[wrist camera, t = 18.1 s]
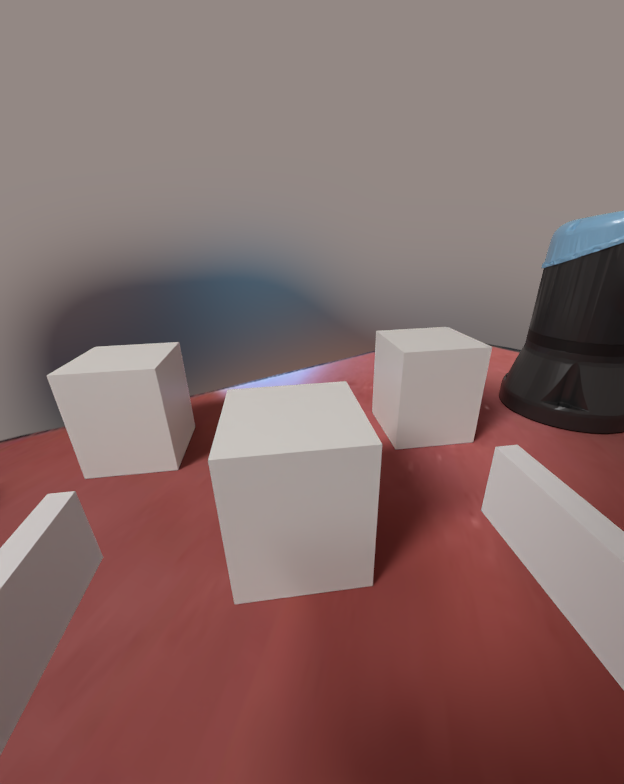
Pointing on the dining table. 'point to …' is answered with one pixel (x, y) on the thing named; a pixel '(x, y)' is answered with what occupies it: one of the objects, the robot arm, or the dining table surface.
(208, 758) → the dining table surface
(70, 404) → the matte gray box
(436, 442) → the matte white cube
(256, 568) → the tall off-white cuboid
